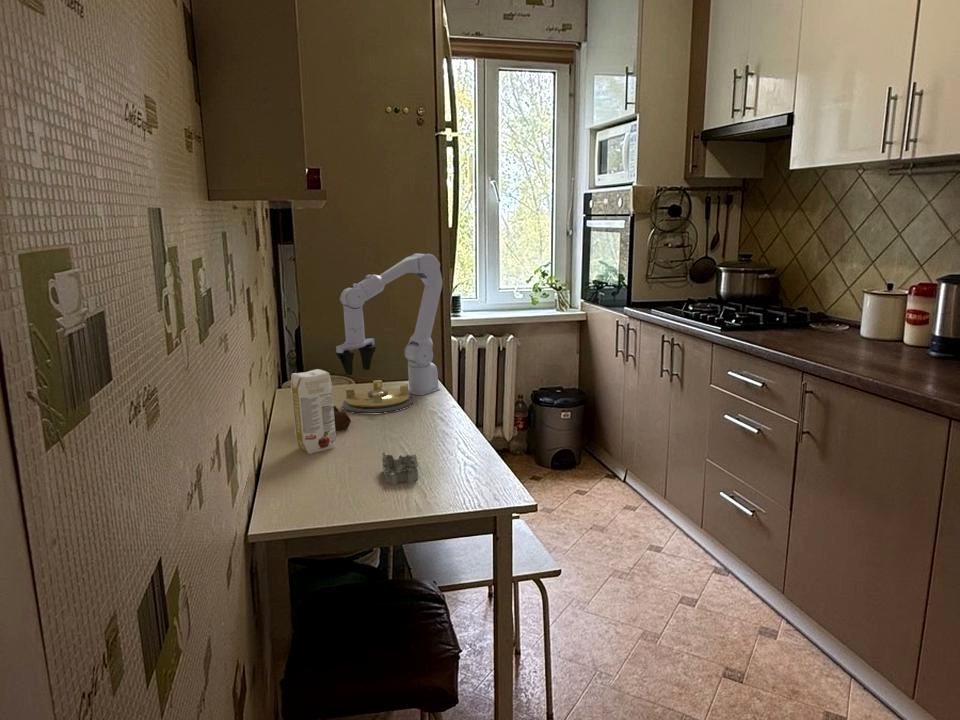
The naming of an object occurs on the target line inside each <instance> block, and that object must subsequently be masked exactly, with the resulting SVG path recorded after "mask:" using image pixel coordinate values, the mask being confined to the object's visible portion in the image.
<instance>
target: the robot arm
mask: <svg viewBox="0 0 960 720" xmlns="http://www.w3.org/2000/svg"><path fill="white" fill-rule="evenodd" d="M440 268H441V263H440V261H439V260H438V258H437V257H436V256H435V255H434V254H431V253H419V252H417V253H413V254H412V255H410V256H407V257H405V258H404V259H402V260H400V261H399V262H398V263H395V265H393V266H391V267H390V268H388V269H387V270H385V271H384V272H381V274H379V275H377V274H374V273H373V274H367V275H365V278H364V279H362V280H361V281H360V282H357V283H356V282H354V283H353V284H352V286H353V287H347V288H345V289H343V291H342V292H341V294H340V296H339V301H340V303H341V305H342V306H343V307H342V308H343V320H344V321H343V322H344V331H345V332H344V334H345V341H344V343H342V344H339V345H336V346H335V348H336V356H337V358H338V360H339V361H340V363H341V365H342V367H343V370H344V373H345V375H346V376H347V375H348V376H353V372H354V371H353V369H354V368H353V367H354V366H353V361H354V355H355V353H354V352H351V351H352V350H357V349H358V351H359V354H360V356H361V363H362V364H361V365H362V369H363V370H364V371H365V370H366V371H369V370H371V363H372V359H373V355H374V354H375V351H376V350H377V349H376V348H377V347H376V345H375V338H371V337H370V338H366V335H365V320H364V311H363V308H364V307H363V306H364V305H365V303H366V301H369V299H370V300H371V298H373V297H374V296H377V295H378V294H380V293H381V292H383V291H384V289H385V286H386V285H387V284H389V283H390V282H392V281H394V280H396V279H398V278H400V277H402V276H404V275H405V274H410V273H411V274H412V273H413V274H415V275H416V276H418V278H420V280H421V281H422V283H423V284H424V288H423V293H422V298H421V303H420V305H419V309H418V310H419V311H418V316H417V319H416V324H415V329H414V333H413V334H412V335H410V338H409V341H408V343H407V345H406V346H405V347H404V350H403V354H404V357H405V358H406V360H407V370H408V371H407V373H408V391H409V393H410V395H411V394H412V395H417V396H424V395H428V394H430V393H434V392H437V391H439V390H441V387H439V374H438V373H439V372H438V368H437V365H436V364H435V363H433V362H432V361H433V360H434V359H433V358H434V352H433V347H434V342H433V340H432V332H433V329H434V325H435V320H436V316H437V315H436V314H437V311H438V307H439V306H438V305H439V301H440V298H441V297H440V296H441V292H442V289H443V283H444V282H443V281H444V280H443V278H442V277H443V276H442V272H441V269H440Z"/></svg>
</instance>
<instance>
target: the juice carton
mask: <svg viewBox="0 0 960 720" xmlns="http://www.w3.org/2000/svg"><path fill="white" fill-rule="evenodd" d="M290 377H291V378H290V391H291V393H290V394H291V400H292V411H293V412H292V413H293V414H292V415H293V423H294V435H295V441H296V445H297V447H298V449H299V450H300V451H303V452H304V453H306V454H308V455H313V454H316V453H320V452H323V451H328V450H331V449H332V450H333V449H335V448H336V432H335V420H334V408H333V406H334V399H333V398H334V397H333V384H332V380H331V376H330V372H328V371H326V370H323V369H320V368H319V369H318V368H317V369H312V370H309V371H306V372H297V373H296V372H294V373H293V372H292V373H291V376H290Z"/></svg>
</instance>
